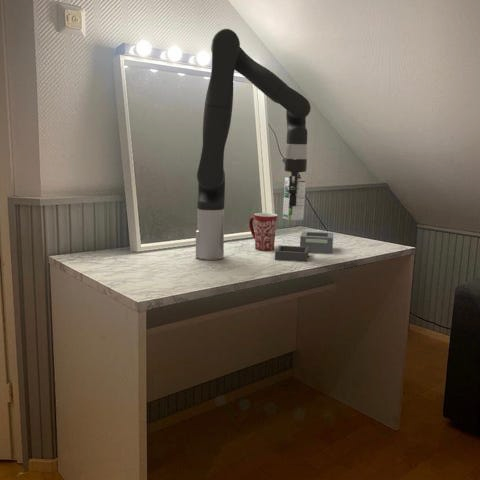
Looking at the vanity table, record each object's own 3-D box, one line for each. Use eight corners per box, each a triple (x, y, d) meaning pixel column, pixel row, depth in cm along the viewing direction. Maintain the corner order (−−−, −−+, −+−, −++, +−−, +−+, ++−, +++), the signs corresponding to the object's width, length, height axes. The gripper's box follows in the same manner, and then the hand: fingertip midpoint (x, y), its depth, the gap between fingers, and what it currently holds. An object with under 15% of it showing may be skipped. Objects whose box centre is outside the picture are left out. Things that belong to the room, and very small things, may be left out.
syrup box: (282, 218, 175) (283, 177, 173) (296, 217, 177) (298, 177, 175) (289, 220, 170) (291, 178, 167) (304, 220, 172) (306, 178, 169)
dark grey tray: (274, 259, 172) (275, 251, 171) (278, 253, 182) (278, 245, 182) (306, 261, 170) (306, 253, 169) (308, 255, 180) (308, 247, 180)
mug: (281, 249, 190) (282, 214, 187) (264, 252, 184) (265, 216, 181) (258, 244, 199) (259, 211, 196) (242, 247, 193) (242, 212, 190)
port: (299, 252, 185) (300, 236, 184) (302, 246, 197) (302, 231, 196) (332, 254, 183) (333, 238, 182) (332, 247, 195) (333, 232, 194)
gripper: (287, 157, 177) (285, 202, 180) (282, 157, 163) (280, 206, 167) (308, 157, 176) (305, 203, 179) (305, 158, 162) (303, 207, 165)
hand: (293, 204), depth 173 cm, fingers closed on syrup box, 8 cm apart
